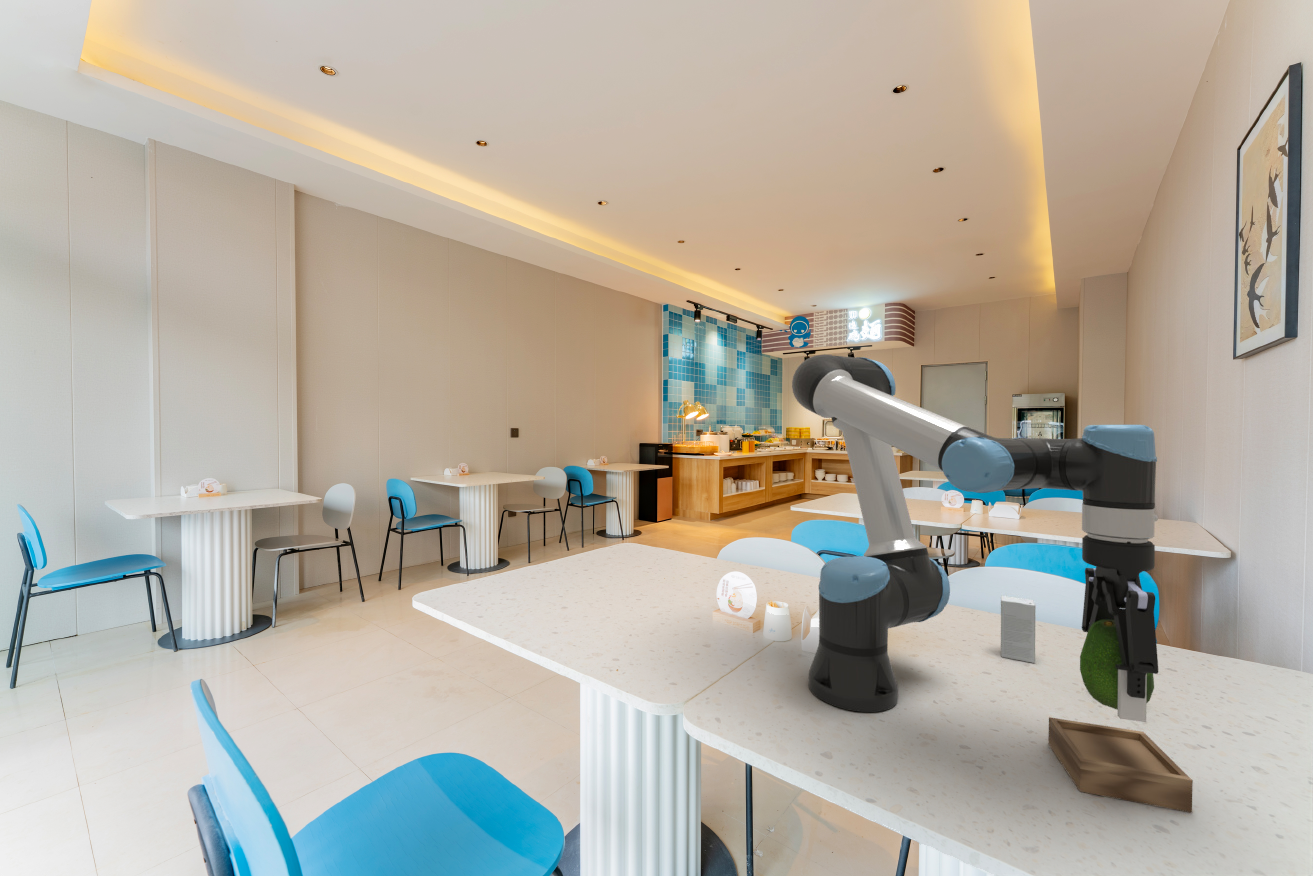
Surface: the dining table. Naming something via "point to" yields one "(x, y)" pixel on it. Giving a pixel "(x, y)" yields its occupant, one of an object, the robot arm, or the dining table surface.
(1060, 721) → the wooden tray
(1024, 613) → the skincare box
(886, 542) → the robot arm
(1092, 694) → the avocado
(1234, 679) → the dining table surface
